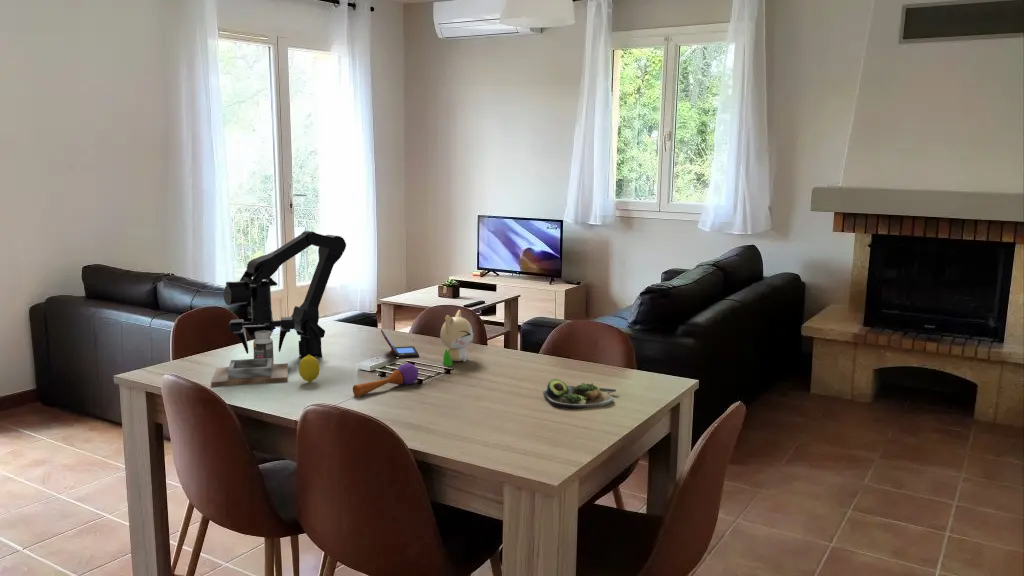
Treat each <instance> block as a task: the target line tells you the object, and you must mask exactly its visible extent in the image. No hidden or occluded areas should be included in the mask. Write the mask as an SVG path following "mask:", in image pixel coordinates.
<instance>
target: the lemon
mask: <svg viewBox="0 0 1024 576" xmlns="http://www.w3.org/2000/svg"><path fill="white" fill-rule="evenodd" d="M320 367H321V366H320V363H319V360H318V359H317V357H313V356H311V355H307V356H306V357H304V358H301V360H300V361H299V366H298V372H299V376H300V377H301V379H302V380H303V381H306V382H307V383H309V384H311V383H312V382H313V381H314V380H316V379H317V378H318V377H319V375H320V371H321V370H320V369H321V368H320Z"/></svg>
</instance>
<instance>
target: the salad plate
mask: <svg viewBox="0 0 1024 576" xmlns="http://www.w3.org/2000/svg"><path fill="white" fill-rule="evenodd" d="M599 386H600V384H597V385H594V383H585V382H581V384H578V385H567V384H566V383H565V382H564V381H562V380H560V379H557V378H554V379H551V380H550V381H548V384H547V385H546V387H547V388H544V390H543V392H542V394H543V397H544V400H546V402H547V403H548V404H550V406H553V407H556V408H557V409H558V408H559V409H566V410H571V409H572V410H578V409H589V408H596V407H597V408H598V407H602V406H607V405H609V404H610V403H611V402H613V401H614V398H613V396H612V395H609V394H610V393H615V392H617V389H616V388H615V389H614V388H608V387H607V388H606V387H605V388H604V387H599ZM595 400H597V401H599V402H595V403H587V402H591V401H595Z"/></svg>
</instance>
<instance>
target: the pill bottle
mask: <svg viewBox="0 0 1024 576" xmlns="http://www.w3.org/2000/svg"><path fill="white" fill-rule="evenodd" d="M271 336H272V331H270V330H265V329H263V330H256V331H254V337H255V339H254V340H253V343H252V344H253V359H261V358H272V364H274V361H275V360H274V340H273V339H272V338H271Z"/></svg>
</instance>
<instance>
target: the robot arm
mask: <svg viewBox="0 0 1024 576" xmlns="http://www.w3.org/2000/svg"><path fill="white" fill-rule="evenodd" d="M311 246H314V247H317V248H318V251H317V254H318V262H317V265H316V268H315V271H314V273H313V275H312V279H311V281H310V284H309V286H308V290H307V291H306V295H305V298H304V301H303V302H302V304H301V305H300V306H298V305H296V306H294V308H293V311H292V314H291V316H284V317H283V316H282V317H280V320H278V319H277V320H273V309H272V291H271V287H275V286H278V283H277V282H276V281H275V280H274V279H273V278H272V276H273V275H274V274H276V273H277V272H278V270H279V268H280V267H281V266H282V265H283V264H284V263H286V262H287V261H289V260H291V259H292V258H293V257H295V256H296V255H299V253H301V252H303V251H305V250H306V249H307V248H309V247H311ZM346 247H347V242H346V240H345V239H344V237H342V236H339V235H334V234H326V235H324V234H320V233H316V232H314V231H312V230H311V231H310V230H304V231H302V232H301V234H299V235H298V236H296V237H294V238H292V239H291V240H290V241H288V242H286V243H285V244H284V245H282V246H280V247H279V248H277V249H276V250H274V251H272V252H270V253H268V254H263V255H260V256H258V257H256V258H253V259H251V260H249V261H248V263H247V264H246V265H247V266H246V270H245V271H244V273H243V274H242V276H241V278H240V279H239V280H237V281H226V282H225V287H224V290H223V292H222V296H223V300H224V301H223V302H224V303H225V304H226V305H227V306H233V305H243V304H248V303H249V302H250V306H248V307H247V318H250V319H251V321H245V320H244V319H242V318H241V319H231V320H230V321H229V323H228V333H233V335H234V336H237V337H238V338H239V340H240V342H241V344H242V346H243V348H244V351H245V353H246V354H247V355H248V354H249V345H248V340H247V334H246V332H247V331H246V329H253V328H254V329H257V328H258V329H259V328H276V327H278V328H279V327H280V328H279V337H278V338H279V339H278V353H279V352H280V353H281V350H282V346H283V344H284V340H285V337H286V335H287V333H290V332H291V330H294V331H295V332H296V334H297V336H300V337H299V338H300V340H298V355H299V356H300V359H303V358H304V357H306V356H307V355H311V356H313V357H315V358H322V357H323V351H322V338H324V337H325V334H326V330H325V329H324V328H323V327H321V325H319V319H320V311H319V307H320V304H321V301H322V299H323V296H324V293H325V290H326V288H327V284H328V282H329V280H330V279H329V278H330V276H331V274H332V271H333V268H334V265H335V264H336V263H337V262H338V261H339V260H340V259H341V258H342V256H343V254H344V253H345V250H346Z"/></svg>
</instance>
